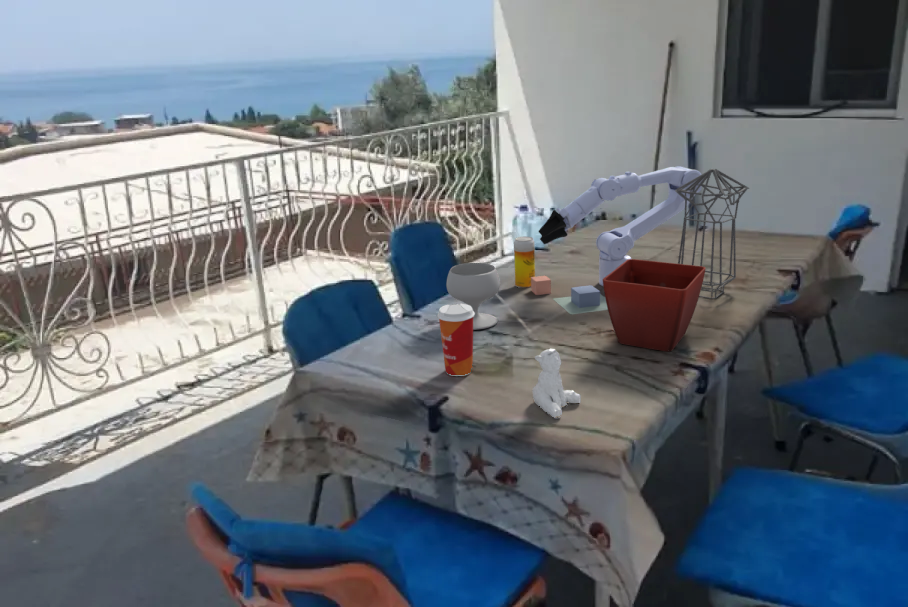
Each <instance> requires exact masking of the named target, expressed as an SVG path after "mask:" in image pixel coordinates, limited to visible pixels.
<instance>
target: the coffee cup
mask: <svg viewBox="0 0 908 607" xmlns="http://www.w3.org/2000/svg"><path fill="white" fill-rule="evenodd" d="M474 315H475V313H474V311H473V309H472V307H471V306H470V305H467V304H466V303H459V304H457V303H452V304H445V305H443V306H441V307H440V308H439V310H438V313H437V315H436V317H437V318H438V320H439V329H440V338H441V344H442V352H443V353H442V354H443V362H444V367H445V373H446V372H447V373H448V374H451V375H465V374H468V373H470V372H471V368H472V369H473V366H472V364H473V358H474V356H473V355H474V352H473V351H474V330H473V317H474ZM447 373H446V374H447Z"/></svg>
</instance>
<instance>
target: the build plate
mask: <svg viewBox="0 0 908 607" xmlns="http://www.w3.org/2000/svg"><path fill="white" fill-rule="evenodd" d="M552 300H553V301H554V302H556V303H557V304H558V305H559V306H560V307H561V308H562V309H564V310H565V311H566V312H567V313H568V314H569V315H579V314H585V313H586V314H588V313H593V312H601V311H603V312H604V311H608V308H607V303H606V299H605V295H602V294H601V293H600V305H599V306H591V307H583V308H579V307H577V306H576V305H575V304H574V303H573V302H571V295H570V296H564V297H554V298H552Z"/></svg>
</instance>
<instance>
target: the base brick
mask: <svg viewBox="0 0 908 607" xmlns="http://www.w3.org/2000/svg"><path fill="white" fill-rule="evenodd" d="M600 294H601V291H600V290H599V289H598V288H596V287H594V286H593V285H592V284H591V285H583V286H582V285H581V286H573V287H571V288H570V296H571V302H573V303H574V304H575V305H576V306H577V307H579V308H583V307H591V306H599V305H600Z"/></svg>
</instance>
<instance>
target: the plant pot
mask: <svg viewBox="0 0 908 607" xmlns="http://www.w3.org/2000/svg"><path fill="white" fill-rule="evenodd" d="M705 270H707V268H706V267H705V266H703V265H702V266H700V265H692V264H684V263H683V264H681V263H680V264H678V263H673V262H663V261H656V260H647V259H646V260H645V259H634V258H631V259H628V260H626V261H625V262H624V263H623V264H621V265H620V266H619V267H618V268H616V269H615V270H614V271H613V272H611V273H610V274H609V275H607V276H606V277H605V278H603V286H602V287H603V292H604V297H605V299H606V303H607V308H608V310H607V311H608V312H607V313H608V315H609V317H610V318H609V319H610V321H611V326H612V328H613V331H614V334H615V336H616V338H617V341H618V343H619V344H621V345H625V346H630V347H637V348H643V349H648V350H649V349H650V350H655V351H662V352H672V351H674V349H675V348H676V346H677V345H678V344H679V343H680V341H681V340H682V339H683V338H684V336H685V335H686V332H687V330H688V329H689V326H690V323H691V320H692V318H693V315H694V314H695V313H694V312H695V310H696V307H697V304H698V300H699V298H700V297H699V296H701V295H700V294H701V291H702V290H701V289H702V288H701V287H703V285H702V283H704V282H703V281H704V279H705V275H706V272H705Z"/></svg>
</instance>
